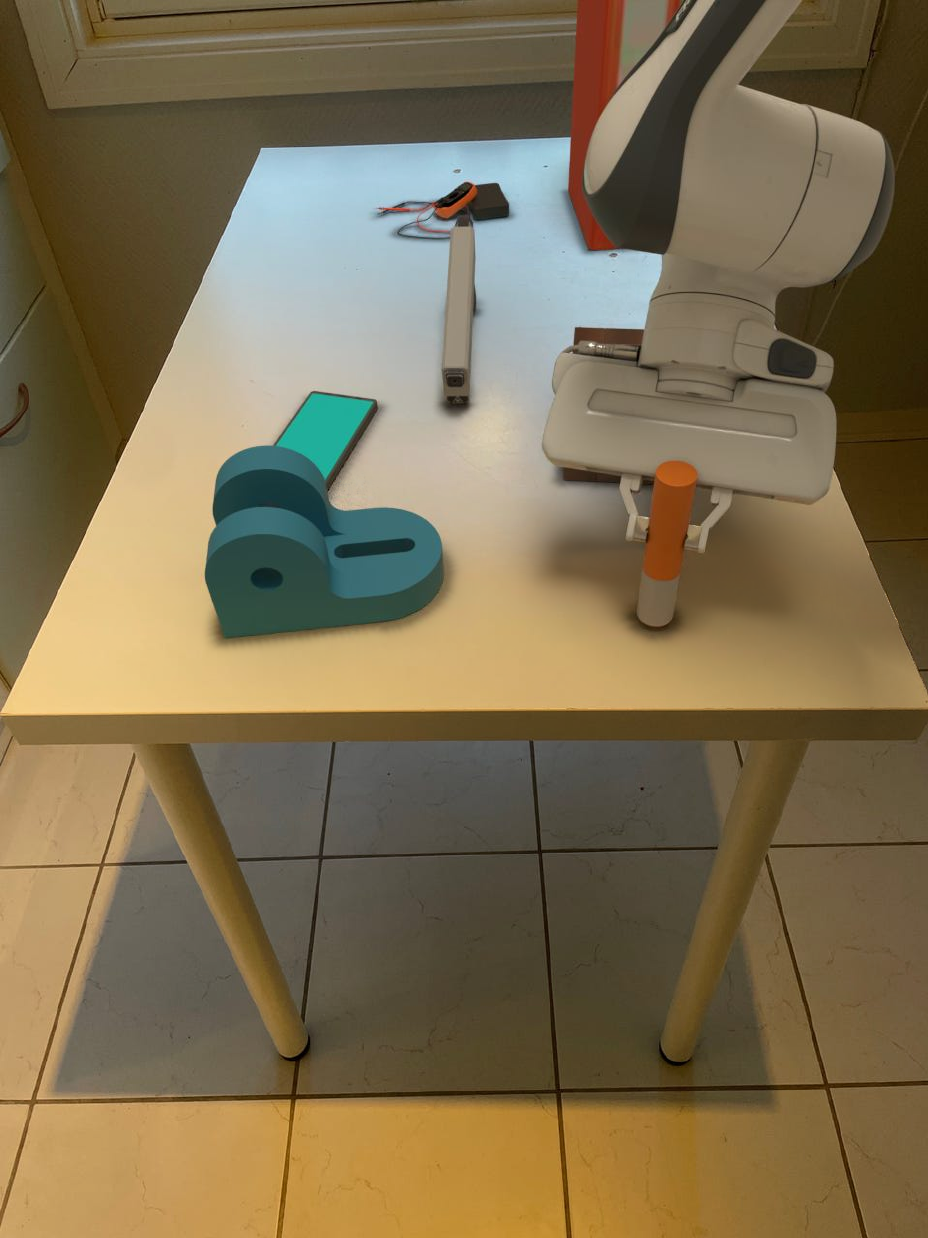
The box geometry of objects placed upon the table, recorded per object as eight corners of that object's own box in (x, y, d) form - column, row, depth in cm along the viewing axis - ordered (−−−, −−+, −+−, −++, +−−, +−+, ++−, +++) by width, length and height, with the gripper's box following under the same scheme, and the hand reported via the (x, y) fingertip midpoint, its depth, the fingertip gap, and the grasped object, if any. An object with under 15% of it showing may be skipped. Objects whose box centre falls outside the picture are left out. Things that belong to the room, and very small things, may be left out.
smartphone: (377, 399, 94) (320, 492, 84) (378, 406, 94) (322, 499, 85) (310, 390, 95) (247, 479, 86) (312, 397, 96) (249, 487, 86)
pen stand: (667, 382, 96) (675, 329, 91) (671, 485, 84) (679, 431, 80) (572, 379, 97) (574, 326, 92) (563, 480, 86) (565, 426, 81)
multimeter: (375, 244, 119) (372, 218, 116) (371, 204, 127) (368, 179, 124) (514, 232, 120) (514, 206, 117) (502, 193, 128) (502, 168, 125)
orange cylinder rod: (672, 602, 74) (697, 460, 64) (673, 628, 72) (698, 487, 62) (636, 599, 74) (655, 459, 64) (636, 625, 72) (655, 485, 62)
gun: (478, 276, 110) (475, 201, 101) (471, 441, 97) (467, 372, 89) (457, 276, 110) (452, 202, 101) (447, 441, 97) (440, 372, 89)
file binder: (626, 188, 127) (651, -103, 104) (652, 246, 116) (687, -67, 92) (567, 192, 127) (579, -99, 104) (588, 250, 116) (607, -62, 92)
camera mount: (224, 638, 74) (191, 540, 66) (233, 548, 81) (203, 451, 73) (449, 614, 75) (442, 515, 67) (438, 527, 82) (430, 429, 74)
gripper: (553, 324, 65) (517, 519, 66) (859, 361, 61) (816, 570, 62) (565, 348, 71) (532, 525, 72) (844, 382, 67) (805, 572, 68)
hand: (665, 546), depth 67 cm, fingers closed on orange cylinder rod, 3 cm apart
